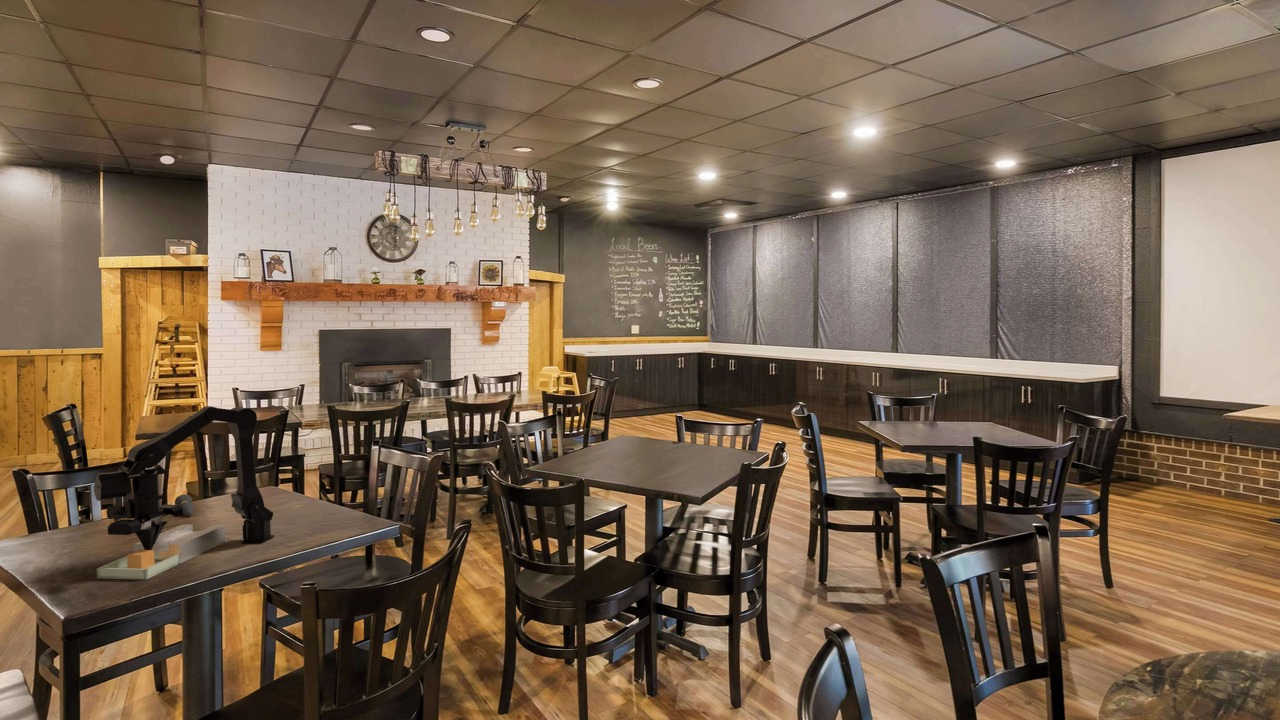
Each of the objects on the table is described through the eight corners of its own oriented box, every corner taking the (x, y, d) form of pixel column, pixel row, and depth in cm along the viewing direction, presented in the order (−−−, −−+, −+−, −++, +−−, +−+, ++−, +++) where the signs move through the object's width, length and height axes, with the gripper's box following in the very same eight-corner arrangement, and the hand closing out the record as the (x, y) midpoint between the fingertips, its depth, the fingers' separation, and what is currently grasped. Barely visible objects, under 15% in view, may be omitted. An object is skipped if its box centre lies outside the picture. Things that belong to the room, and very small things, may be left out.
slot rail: (225, 541, 199) (225, 525, 199) (180, 563, 181) (179, 544, 181) (183, 541, 200) (182, 524, 200) (134, 562, 182) (133, 544, 182)
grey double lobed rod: (203, 515, 228) (202, 500, 228) (185, 518, 224) (185, 503, 224) (188, 505, 242) (188, 491, 242) (172, 507, 238) (171, 493, 238)
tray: (178, 564, 181) (178, 554, 181) (146, 579, 170) (145, 569, 170) (132, 563, 182) (132, 553, 182) (97, 578, 171) (96, 568, 171)
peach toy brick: (153, 550, 178) (141, 555, 174) (154, 565, 178) (141, 570, 174) (140, 549, 178) (126, 554, 175) (140, 564, 179) (127, 570, 175)
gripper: (145, 484, 188) (147, 539, 189) (85, 501, 169) (88, 563, 170) (183, 484, 187) (185, 540, 188) (127, 502, 168) (130, 564, 169)
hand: (148, 551), depth 179 cm, fingers closed
